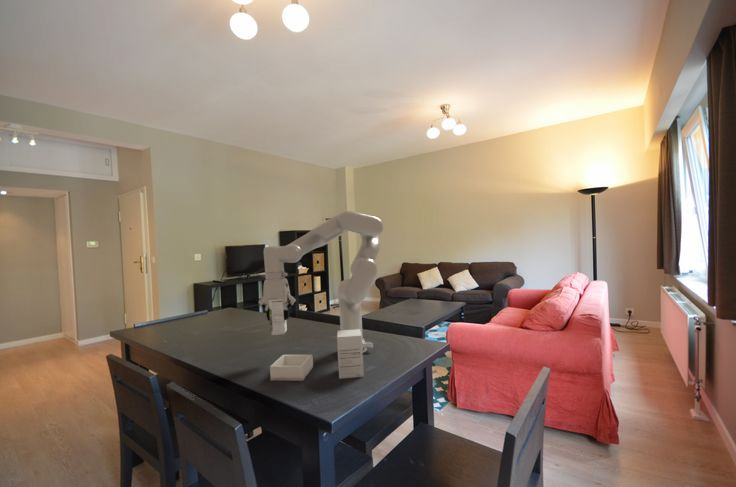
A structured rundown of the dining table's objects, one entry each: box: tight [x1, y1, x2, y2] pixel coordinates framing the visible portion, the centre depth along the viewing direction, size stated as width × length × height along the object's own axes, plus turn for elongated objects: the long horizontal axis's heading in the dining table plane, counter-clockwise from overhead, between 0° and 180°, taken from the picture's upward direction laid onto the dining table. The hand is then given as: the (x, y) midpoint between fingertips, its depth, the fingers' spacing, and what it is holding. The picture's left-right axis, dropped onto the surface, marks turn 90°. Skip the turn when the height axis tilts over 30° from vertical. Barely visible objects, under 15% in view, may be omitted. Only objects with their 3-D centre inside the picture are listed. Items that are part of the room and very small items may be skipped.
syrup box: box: [269, 299, 288, 336], centre depth 136 cm, size 6×6×14 cm
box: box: [269, 354, 314, 382], centre depth 123 cm, size 12×12×5 cm
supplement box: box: [336, 329, 365, 380], centre depth 121 cm, size 9×9×15 cm
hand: (278, 319), depth 136 cm, fingers closed on syrup box, 6 cm apart
